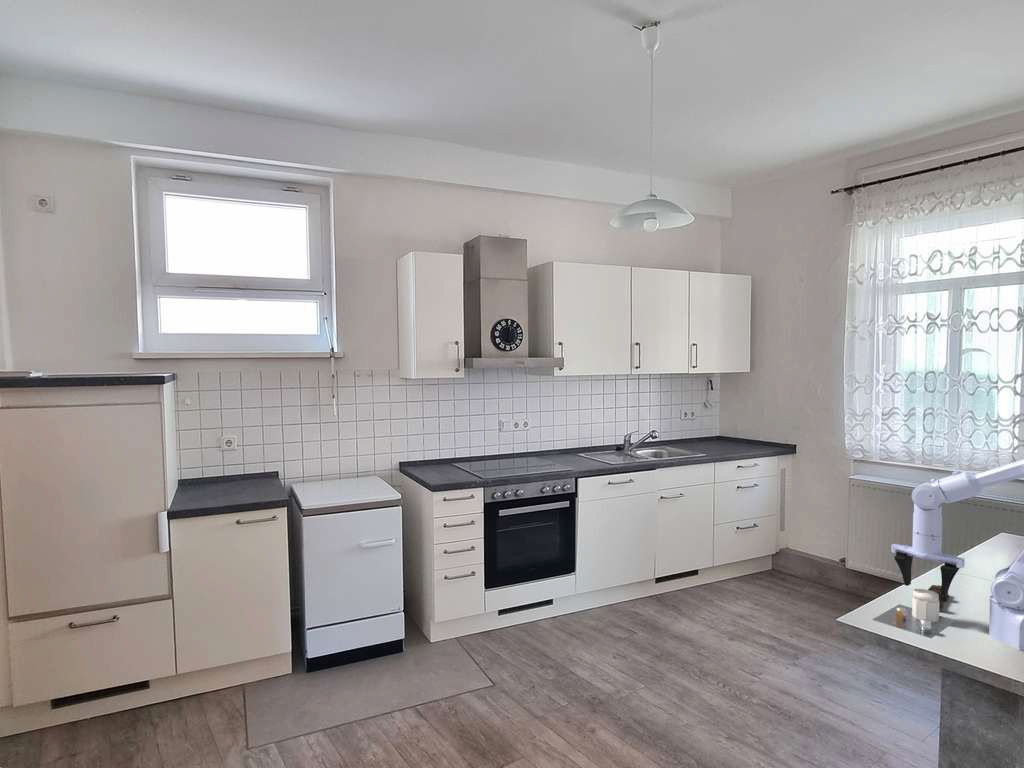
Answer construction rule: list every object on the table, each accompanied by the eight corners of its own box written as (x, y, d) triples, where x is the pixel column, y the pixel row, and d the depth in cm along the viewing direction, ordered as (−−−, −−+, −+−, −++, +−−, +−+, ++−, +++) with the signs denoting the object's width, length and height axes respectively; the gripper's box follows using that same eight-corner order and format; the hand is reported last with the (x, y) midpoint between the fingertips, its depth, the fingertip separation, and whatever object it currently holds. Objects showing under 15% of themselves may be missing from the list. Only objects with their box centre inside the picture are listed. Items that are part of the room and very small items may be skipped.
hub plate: (899, 608, 149) (899, 594, 149) (955, 624, 139) (956, 610, 139) (871, 623, 139) (872, 609, 139) (930, 642, 129) (931, 626, 129)
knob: (930, 613, 143) (931, 589, 143) (942, 622, 138) (943, 597, 138) (908, 612, 143) (909, 588, 143) (919, 620, 138) (920, 595, 138)
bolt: (944, 606, 155) (931, 620, 145) (924, 592, 159) (910, 604, 148) (958, 590, 153) (946, 603, 143) (938, 576, 156) (925, 588, 146)
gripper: (886, 529, 144) (885, 583, 144) (957, 543, 132) (956, 602, 132) (898, 525, 148) (897, 578, 148) (968, 538, 136) (966, 596, 137)
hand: (925, 589), depth 141 cm, fingers open, 7 cm apart
